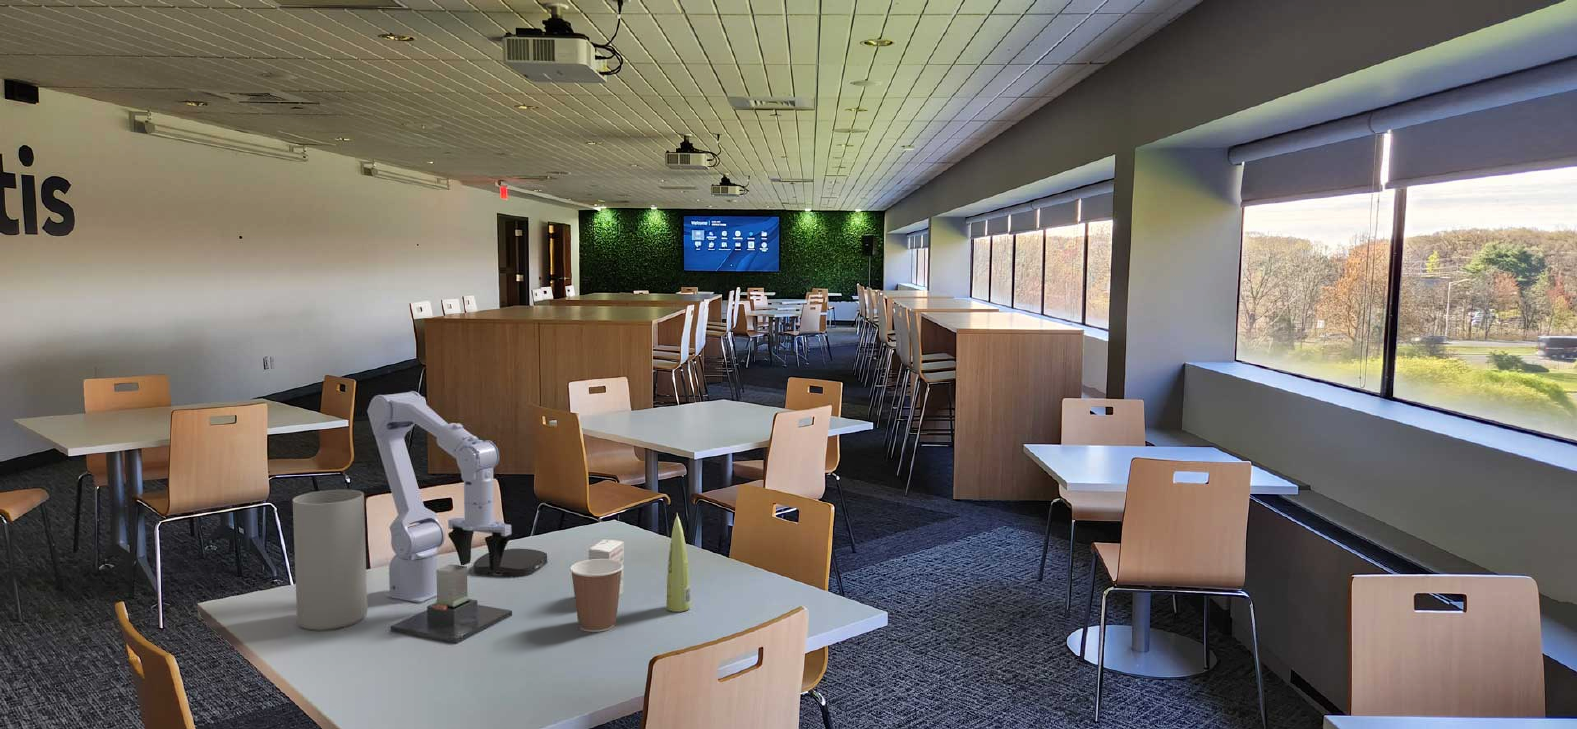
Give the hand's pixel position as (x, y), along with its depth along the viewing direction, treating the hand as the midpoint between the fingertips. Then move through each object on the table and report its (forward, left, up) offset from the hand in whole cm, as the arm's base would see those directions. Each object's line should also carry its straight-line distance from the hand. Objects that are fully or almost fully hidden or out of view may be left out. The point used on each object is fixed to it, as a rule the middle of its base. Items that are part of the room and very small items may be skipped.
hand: (480, 566), depth 186 cm
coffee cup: (+27, +2, -9) cm, 29 cm away
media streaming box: (-13, +26, -10) cm, 31 cm away
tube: (+37, +17, -9) cm, 42 cm away
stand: (0, -8, -9) cm, 12 cm away
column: (0, -8, -5) cm, 10 cm away
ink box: (+20, +16, -9) cm, 27 cm away
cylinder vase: (-23, -16, -9) cm, 30 cm away
